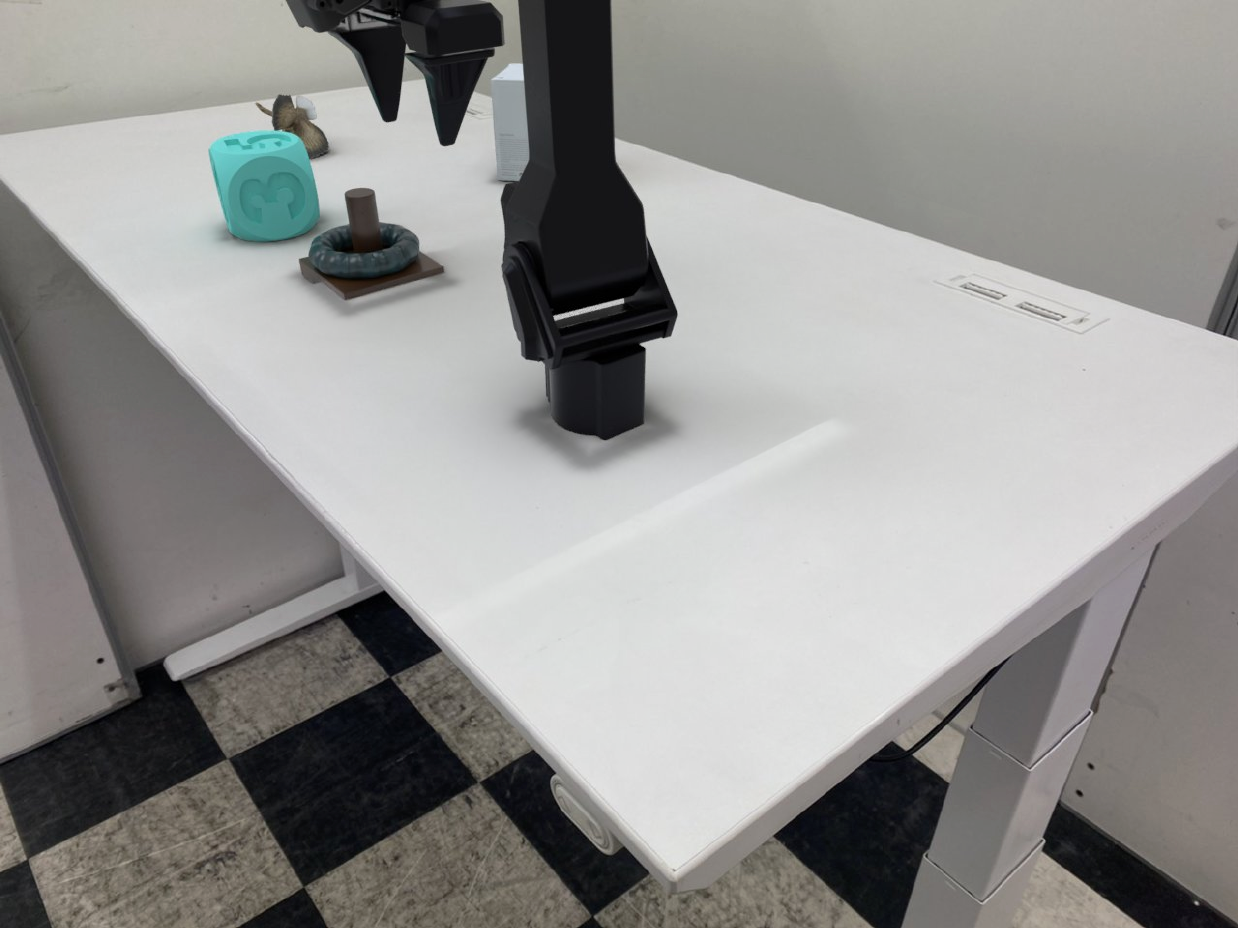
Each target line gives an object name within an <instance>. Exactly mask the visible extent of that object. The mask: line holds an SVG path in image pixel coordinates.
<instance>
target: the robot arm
mask: <svg viewBox="0 0 1238 928" xmlns="http://www.w3.org/2000/svg"><path fill="white" fill-rule="evenodd" d="M285 2H286V4H287V6H288V8H289V10H290V12H291V14H292V16H293V18H294V19H295V22H296V23H297V25H298V27H299V28H302V29H304V28H309V29H311V30H312V31H313V32H314V33H318V34H322V33H327V34H329V36H331V37H333V38H335V40H337V41H338V42H340V43H341V44H342V45H343V46H345V47H346V48H347V49H348V50H350V51H351V52H352V54H353V56H354V58H355V60H356V62H357V64H358V66H359V69H360V71H361V73H362V76H363V77H364V80H365V83H366V84H367V87H368V89H369V92H370V94H371V96H372V99H373V100H374V103H375V106H376V107H377V110H378V113H379V115H380V117H381V120H382V121H383V122H384V123H393V122H396V121H397V119H398V116H399V115H398V113H399V109H400V104H401V103H400V102H401V96H402V88H403V87H402V86H403V77H404V67H405V58H406V59H407V60H408V61H409V62H410V63H411V64H412V65H413V66H414V67H415V68H416V69H418V70H419V71H420V73H422V75H423V77H424V81H425V85H426V90H427V96H428V100H429V104H430V109H431V114H432V117H433V119H432V120H433V123H434V127H435V131H436V136H437V138H438V142H439V145H440V146H442V147H450V146H453V145H455V144H456V142H457V139H458V135H459V133H460V130H461V128H462V123H463V122H464V118H465V117H466V113H467V111H468V107H469V105H470V102H471V100H472V97H473V95H474V91H475V89H476V87H477V85H478V82H479V80H480V78H481V75H482V73H483V71H484V68H485V66H486V64H487V61H488V59H489V58H494V56H496V55H495V54H496V48H500V47H503V46H504V45H505V44H506V42H505V41H506V40H505V26H504V15H503V14H502V13H501V12H500V10H498V8H496V6H495V5H494V4H493V3H492V2H490V1H485V0H285ZM517 4H518V5H517V6H518V18H519V31H520V33H519V34H520V44H521V60H522V64H523V74H524V88H525V101H526V115H527V129H528V142H529V161H528V163H527V166H526V168H525V170H524V172H523V174H522V176H521V178H520V180H519V181H512V182H508V183H505V184H504V186H503V190H502V192H501V196H500V207H501V212H502V213H501V214H502V219H503V227H504V228H503V229H504V230H503V231H504V241H503V253H502V263H501V266H500V267H501V273H502V274H501V276H502V281H503V284H504V287H505V292H506V297H507V303H508V306H509V311H510V315H511V321H512V327H513V329H514V331H515V333H516V338H517V341H518V342H520V355H521V357H522V358H523V359H524V360H526V361H534V362H538V363H541V362H542V363H543V365H544V369H545V370H544V376H545V397H546V398H547V402H548V403H549V404H550V414H551V419H552V420H553V422H554V423H555V424H556V425H557V426H558V427H560V428H562V429H564V430H565V431H567V432H570V433H573V434H576V435H583V436H593V437H597V438H598V439H600V441H601V440H602V441H609V440H611V439H613V438H615V437H617V436H620V435H622V434H624V433H627V432H630V431H631V430H634V429H636V428H638V427H641V426H643V425H644V424H645V412H646V411H645V407H646V406H645V404H646V371H647V369H646V367H647V366H646V364H647V348H646V347H645V346H643V345H642V344H644V343H647V342H651V341H654V340H659V339H667V338H671V337H672V335H673V332H674V328H675V325H676V323H677V320H678V315H679V313H678V309H677V306H676V304H675V301H674V299H673V297H672V294H671V292H670V289H669V286H668V284H667V282H666V279H665V277H664V274H663V272H662V269H661V267H660V265H659V262H658V260H657V257H656V254H655V253H654V250H653V247H652V244H651V243H650V240H649V238H648V236H647V227H646V226H647V225H646V217H645V208H644V207H645V206H644V204H643V202H642V200H641V199H640V197H639V196H638V194H637V192H636V191H635V189H634V187H633V186H632V185H631V183H630V181H629V180H628V178H627V176H626V175H625V173H624V172H623V170H622V168H621V167H620V165H619V164H618V162H617V155H616V132H615V131H616V129H615V127H616V125H615V92H614V53H613V52H614V50H613V49H614V48H613V47H614V46H613V18H612V17H613V13H612V11H613V9H612V7H613V6H612V0H517ZM407 48H408V49H409V50H410V51H411V52H406V51H407ZM620 300H623V302H621V303H619V304H615V305H610V306H607V307H603V308H598V309H595V310H591V311H586V312H584V313H579V314H575V315H571V316H568V317H567V316H566V317H563V318H559V319H555V317H556V316H560V315H562V314H567V313H572V312H575V311H576V312H577V311H580V310H583V309H587V308H592V307H595V306H599V305H603V304H607V303H611V302H615V301H620Z"/></svg>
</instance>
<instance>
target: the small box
mask: <svg viewBox="0 0 1238 928" xmlns="http://www.w3.org/2000/svg"><path fill="white" fill-rule="evenodd" d="M490 93H491V103H492V121H493V135H494V147H495V149H494V150H495V161H496V173H497V181H504V182H505V181H506V182H509V181H510V182H519V180H520V178H521V176H522V174H523V172H524V170H525V168H526V166H527V163H528V161H529V142H528V129H527V115H526V101H525V88H524V74H523V63H515V62H514V63H513V62H512V63H511V62H510V63H509V64H507V66H506V67H504V68H503V70H502V71H500V72H499V73H498V74H497V75H496V76H494V77H492V78H491V79H490Z"/></svg>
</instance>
